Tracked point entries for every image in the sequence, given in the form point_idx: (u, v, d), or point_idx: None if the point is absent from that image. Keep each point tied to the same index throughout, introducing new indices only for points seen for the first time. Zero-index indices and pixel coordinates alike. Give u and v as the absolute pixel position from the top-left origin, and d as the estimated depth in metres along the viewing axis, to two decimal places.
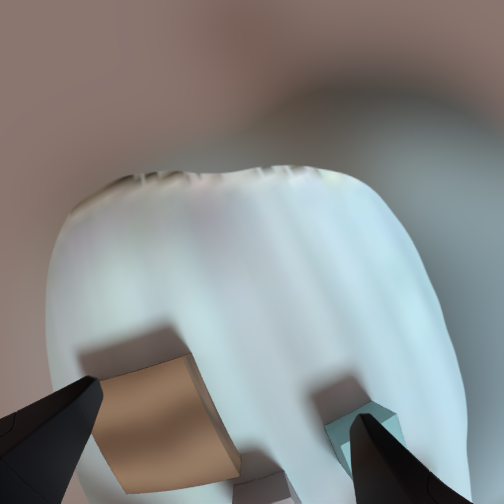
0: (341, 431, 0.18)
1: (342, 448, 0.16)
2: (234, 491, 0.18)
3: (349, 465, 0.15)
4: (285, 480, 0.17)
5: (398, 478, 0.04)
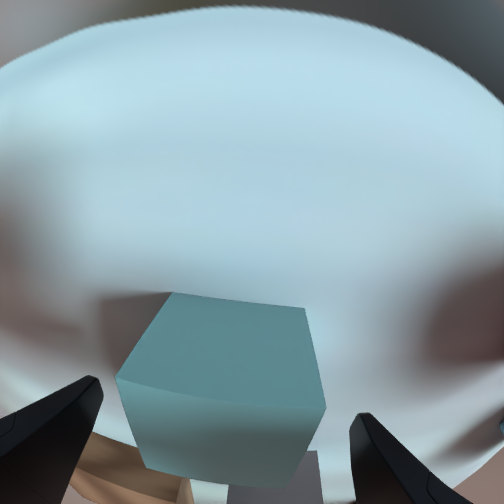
0: None
1: (155, 468, 0.07)
2: None
3: (209, 480, 0.07)
4: None
5: (398, 478, 0.04)
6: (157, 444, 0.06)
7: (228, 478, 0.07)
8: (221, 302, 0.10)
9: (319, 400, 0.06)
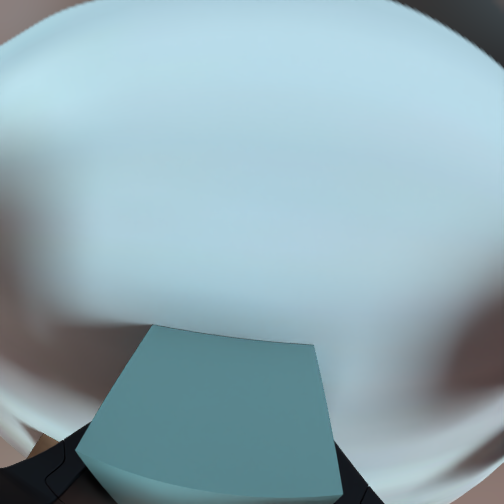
0: None
1: None
2: None
3: None
4: None
5: None
6: None
7: None
8: (211, 341, 0.08)
9: (334, 484, 0.03)
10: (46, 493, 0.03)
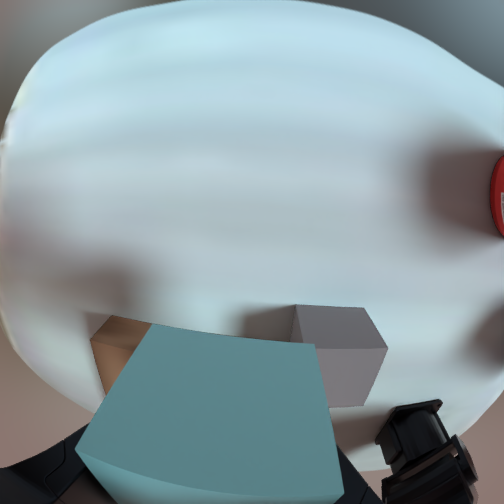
0: None
1: None
2: None
3: None
4: (298, 320, 0.17)
5: None
6: None
7: None
8: (211, 340, 0.08)
9: (335, 483, 0.03)
10: (46, 493, 0.03)
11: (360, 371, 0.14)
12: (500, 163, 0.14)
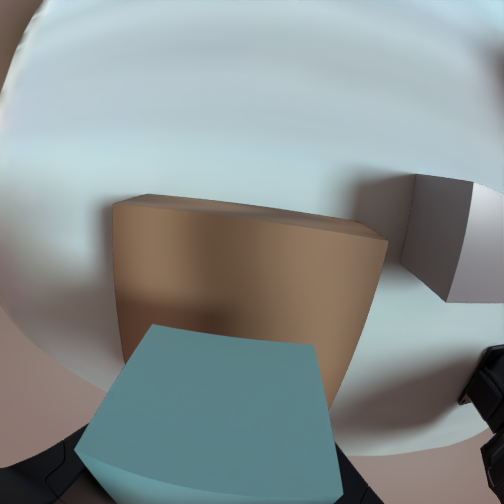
0: None
1: None
2: (409, 268, 0.13)
3: None
4: (435, 178, 0.11)
5: None
6: None
7: None
8: (211, 340, 0.08)
9: (334, 484, 0.03)
10: (46, 493, 0.03)
11: None
12: None
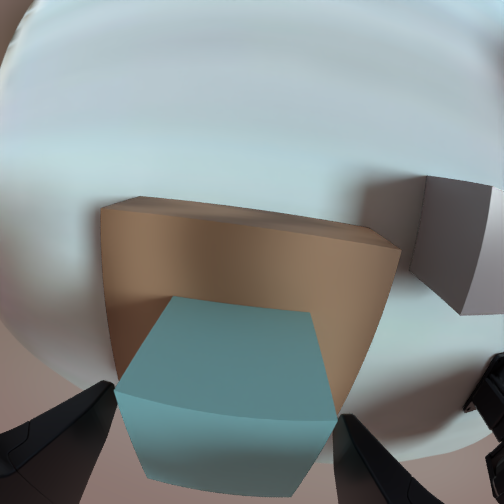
0: None
1: (156, 479, 0.07)
2: (419, 276, 0.12)
3: (212, 490, 0.07)
4: (448, 180, 0.10)
5: (377, 483, 0.04)
6: (159, 456, 0.06)
7: (233, 488, 0.06)
8: (224, 308, 0.09)
9: (330, 412, 0.05)
10: (7, 465, 0.03)
11: None
12: None
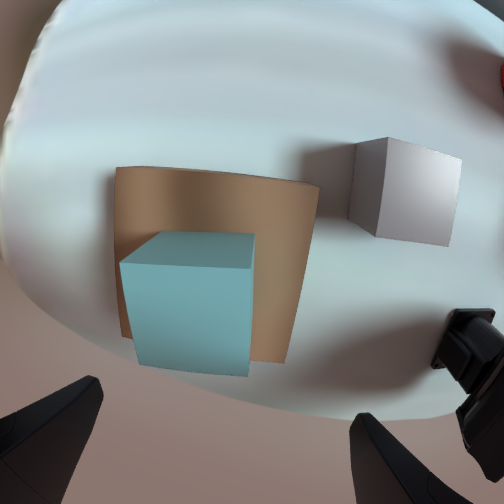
0: None
1: (146, 363, 0.11)
2: (353, 219, 0.16)
3: (187, 369, 0.11)
4: (366, 142, 0.14)
5: (398, 478, 0.04)
6: (146, 326, 0.11)
7: (200, 362, 0.11)
8: (195, 233, 0.14)
9: (247, 266, 0.10)
10: None
11: (442, 185, 0.12)
12: None
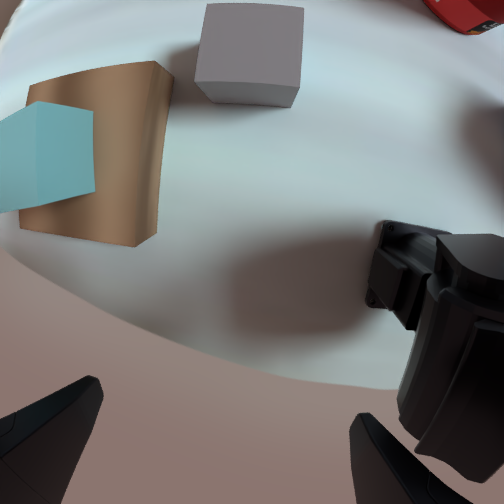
0: None
1: None
2: (209, 96, 0.15)
3: (9, 209, 0.10)
4: None
5: (398, 478, 0.04)
6: None
7: (14, 197, 0.10)
8: None
9: (39, 102, 0.08)
10: None
11: (276, 29, 0.10)
12: None
